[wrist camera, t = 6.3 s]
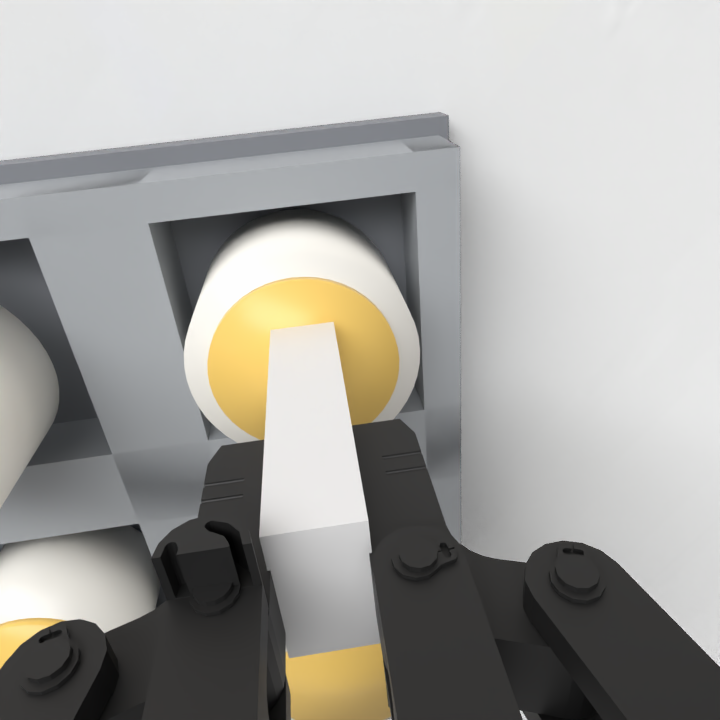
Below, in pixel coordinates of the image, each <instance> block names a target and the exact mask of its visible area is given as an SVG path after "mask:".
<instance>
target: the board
mask: <svg viewBox="0 0 720 720" xmlns="http://www.w3.org/2000/svg"><path fill="white" fill-rule="evenodd" d="M299 209H301V210H314V211H318V212H323V213H327V214H330V215H333V216H336V217H339V218H341V219H343V220H345V221H346V222H348V223H350V224H352V225H353V226H355V227H356V228H358V229H359V230H361V231H362V232H363V233H364V234H365V235H366V236H367V237H368V238H369V239H370V240H371V241H372V242H373V243H374V244H375V246H376V247H377V248H378V249H379V251H380V253H381V254H382V256H383V257H384V259H385V261H386V263H387V265H388V267H389V269H390V272H391V274H392V276H393V278H394V280H395V282H396V284H397V286H398V288H399V290H400V292H401V294H402V296H403V299H404V301H405V303H406V305H407V307H408V309H409V311H410V313H411V316H412V318H413V320H414V322H415V325H416V329H417V333H418V337H419V345H420V364H419V370H418V375H417V379H416V382H415V385H414V388H413V390H412V392H411V394H410V396H409V398H408V400H407V402H406V403H405V405H404V406H403V408H402V409H401V411H400V412H399V413H398V414H397V416H396V417H395V418H394V419H401V420H402V421H403V422H404V423H405V424H406V425H407V426H408V427H409V428H410V429H412V430H413V431H414V432H415V434H416V437H417V440H418V443H419V446H420V449H421V453H422V455H423V458H424V461H425V464H426V468H427V469H428V472H429V475H430V478H431V481H432V484H433V487H434V490H435V493H436V496H437V499H438V502H439V505H440V508H441V511H442V514H443V517H444V520H445V523H446V525H447V527H448V529H449V531H450V533H451V535H452V536H453V537H454V538H455V539H456V540H457V541H458V542H459V543H460V544H461V374H460V147H459V146H458V145H456V144H454V143H452V142H450V141H449V116H448V115H446V114H443V113H441V112H438V113H429V114H420V115H411V116H402V117H393V118H383V119H374V120H365V121H356V122H347V123H338V124H329V125H320V126H311V127H302V128H293V129H284V130H275V131H266V132H257V133H248V134H239V135H230V136H221V137H212V138H203V139H194V140H185V141H176V142H167V143H158V144H149V145H140V146H131V147H122V148H113V149H104V150H94V151H85V152H76V153H67V154H58V155H49V156H40V157H31V158H22V159H13V160H4V161H0V306H2V307H3V308H5V309H6V310H8V311H9V312H10V313H11V314H13V315H14V316H15V317H17V318H18V319H19V320H20V321H21V322H22V323H23V324H24V325H25V326H26V327H28V328H29V329H30V331H31V332H32V333H33V334H34V335H35V336H36V338H37V339H38V340H39V341H40V343H41V344H42V346H43V347H44V349H45V350H46V352H47V353H48V355H49V357H50V359H51V361H52V363H53V366H54V369H55V372H56V375H57V378H58V384H59V405H58V411H57V414H56V417H55V419H54V422H53V424H52V425H51V427H50V429H49V431H48V432H47V434H46V435H45V437H44V439H43V440H42V442H41V444H40V445H39V447H38V448H37V450H36V452H35V453H34V455H33V457H32V458H31V460H30V461H29V463H28V465H27V466H26V468H25V469H24V471H23V473H22V474H21V476H20V478H19V479H18V481H17V482H16V484H15V486H14V487H13V489H12V490H11V492H10V494H9V495H8V497H7V499H6V500H5V502H4V503H3V505H2V507H1V508H0V551H1V549H2V548H3V546H4V544H6V543H13V542H20V541H26V540H33V539H40V538H46V537H53V536H60V535H66V534H73V533H80V532H86V531H93V530H99V529H106V528H113V527H119V526H126V525H129V526H131V527H133V528H135V529H136V530H138V531H139V532H141V533H142V534H143V535H144V538H145V540H146V543H147V546H148V548H149V551H150V553H151V556H152V555H153V553H154V551H155V549H156V547H157V545H158V543H159V542H160V541H161V540H162V539H163V538H164V537H165V536H166V535H167V534H168V533H169V532H170V531H171V530H173V529H175V528H176V527H178V526H180V525H181V524H183V523H185V522H187V521H188V520H191V519H195V518H198V513H199V507H200V504H201V497H202V491H203V488H204V481H205V476H206V470H207V465H208V463H209V462H210V460H211V459H212V458H213V456H214V455H215V454H216V452H217V451H218V450H219V448H220V447H221V446H222V445H229V444H236V443H237V442H235V441H234V440H232V439H231V438H229V437H227V436H226V435H225V434H223V433H222V432H221V431H220V430H218V429H217V428H216V427H215V426H214V425H213V424H212V423H211V422H210V421H209V420H208V419H207V418H206V416H205V415H204V414H203V412H202V411H201V410H200V408H199V407H198V405H197V403H196V401H195V400H194V398H193V396H192V394H191V391H190V388H189V385H188V383H187V379H186V374H185V369H184V347H185V339H186V336H187V332H188V328H189V325H190V322H191V319H192V316H193V313H194V310H195V307H196V304H197V302H198V299H199V296H200V293H201V290H202V287H203V284H204V281H205V278H206V275H207V272H208V270H209V267H210V265H211V263H212V260H213V258H214V257H215V255H216V254H217V252H218V250H219V249H220V247H221V246H222V245H223V244H224V243H225V241H226V240H227V239H228V238H229V237H230V236H231V235H232V234H234V233H235V232H236V231H237V230H238V229H240V228H241V227H243V226H244V225H246V224H247V223H249V222H251V221H253V220H255V219H257V218H259V217H261V216H264V215H268V214H271V213H274V212H279V211H285V210H299ZM394 419H393V420H394ZM166 600H167V599H166V597H165V594H164V592H163V589H162V586H160V591H159V595H158V600H157V604H156V608H157V607H159V606H160V605H161V604H162V603H164V602H165V601H166ZM156 608H155V609H156Z"/></svg>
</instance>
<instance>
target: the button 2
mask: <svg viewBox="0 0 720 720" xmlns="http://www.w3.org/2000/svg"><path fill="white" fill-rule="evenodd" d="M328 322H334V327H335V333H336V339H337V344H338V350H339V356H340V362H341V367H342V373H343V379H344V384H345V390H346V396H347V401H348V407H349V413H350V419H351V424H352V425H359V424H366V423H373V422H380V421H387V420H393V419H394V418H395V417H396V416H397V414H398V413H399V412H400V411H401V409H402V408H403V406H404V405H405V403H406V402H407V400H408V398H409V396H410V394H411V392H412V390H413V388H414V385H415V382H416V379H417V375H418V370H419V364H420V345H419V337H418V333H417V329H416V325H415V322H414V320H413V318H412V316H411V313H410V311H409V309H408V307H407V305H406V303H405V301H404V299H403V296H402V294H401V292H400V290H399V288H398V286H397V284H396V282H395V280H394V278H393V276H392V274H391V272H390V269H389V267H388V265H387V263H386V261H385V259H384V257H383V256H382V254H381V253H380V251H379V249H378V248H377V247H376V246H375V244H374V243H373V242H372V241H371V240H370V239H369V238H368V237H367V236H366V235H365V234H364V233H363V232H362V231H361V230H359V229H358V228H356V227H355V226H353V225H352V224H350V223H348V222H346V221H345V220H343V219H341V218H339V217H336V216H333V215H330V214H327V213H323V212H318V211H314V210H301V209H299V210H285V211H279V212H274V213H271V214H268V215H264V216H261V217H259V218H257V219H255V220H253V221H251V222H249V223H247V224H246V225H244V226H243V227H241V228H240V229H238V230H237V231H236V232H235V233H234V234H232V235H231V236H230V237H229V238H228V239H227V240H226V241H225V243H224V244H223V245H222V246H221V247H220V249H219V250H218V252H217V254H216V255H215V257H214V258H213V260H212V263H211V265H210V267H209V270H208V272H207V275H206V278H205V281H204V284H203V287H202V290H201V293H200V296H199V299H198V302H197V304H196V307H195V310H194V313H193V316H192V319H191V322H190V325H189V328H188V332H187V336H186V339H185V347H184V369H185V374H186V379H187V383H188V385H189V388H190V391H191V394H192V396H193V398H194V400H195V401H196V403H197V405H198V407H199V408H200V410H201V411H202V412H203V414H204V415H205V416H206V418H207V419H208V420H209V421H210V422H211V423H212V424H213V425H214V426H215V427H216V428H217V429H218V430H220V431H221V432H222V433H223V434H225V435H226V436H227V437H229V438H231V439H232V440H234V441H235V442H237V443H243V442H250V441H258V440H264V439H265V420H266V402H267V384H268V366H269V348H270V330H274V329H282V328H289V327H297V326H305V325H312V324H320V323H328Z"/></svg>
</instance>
